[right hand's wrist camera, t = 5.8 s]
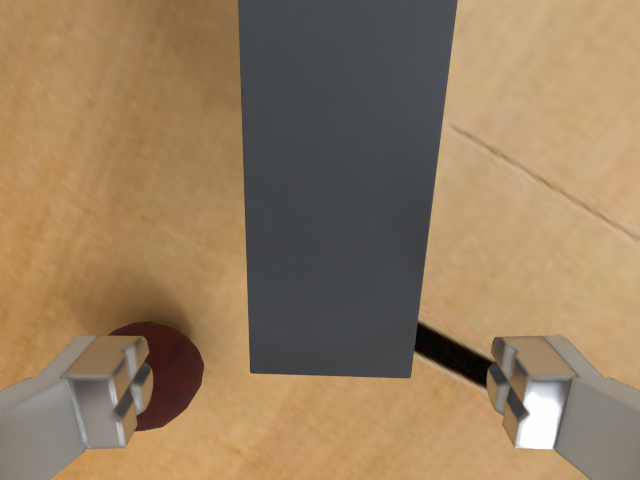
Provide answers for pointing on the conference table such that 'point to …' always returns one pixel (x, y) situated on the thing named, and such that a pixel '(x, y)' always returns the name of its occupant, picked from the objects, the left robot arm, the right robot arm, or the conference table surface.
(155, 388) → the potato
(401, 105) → the bar
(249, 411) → the conference table surface
